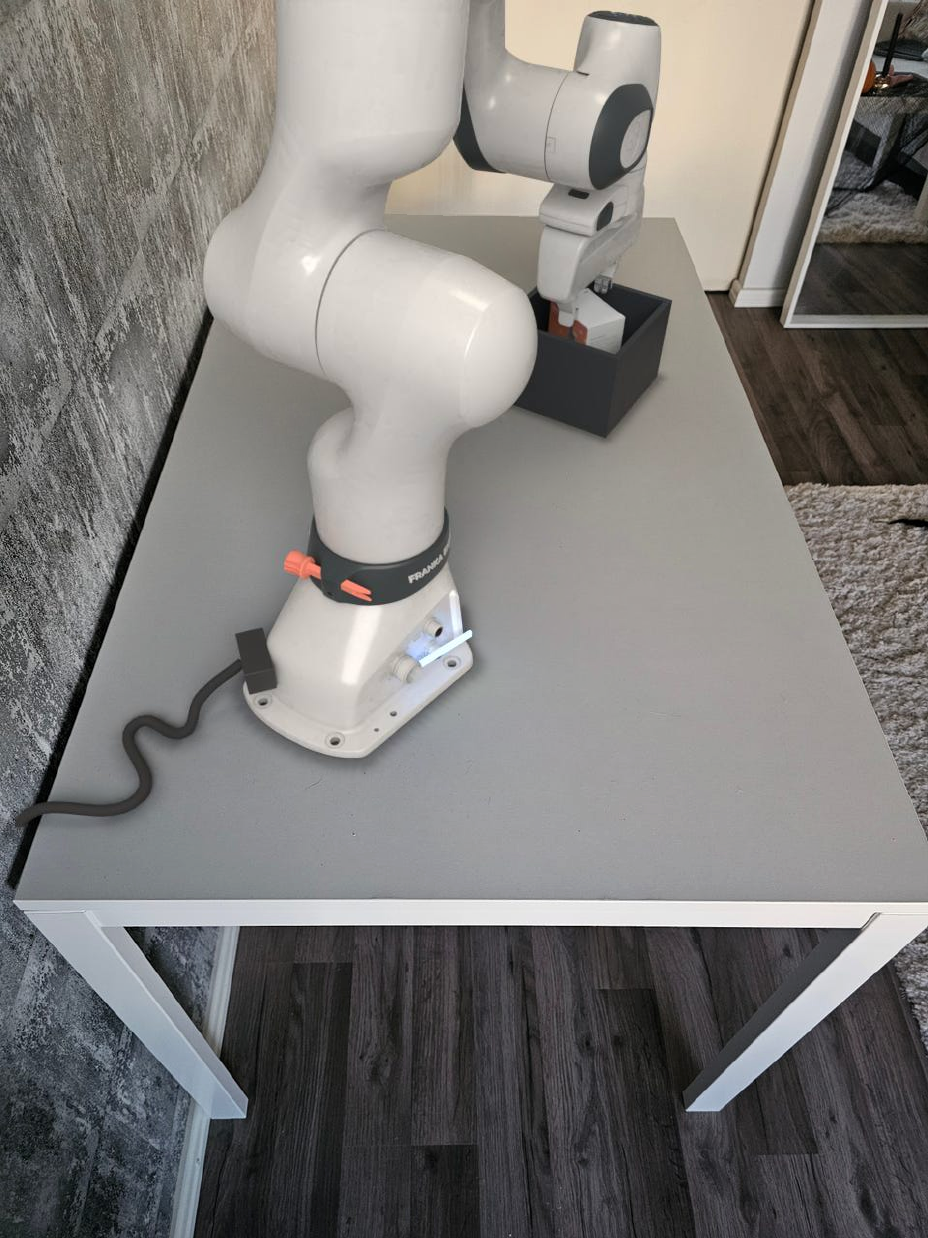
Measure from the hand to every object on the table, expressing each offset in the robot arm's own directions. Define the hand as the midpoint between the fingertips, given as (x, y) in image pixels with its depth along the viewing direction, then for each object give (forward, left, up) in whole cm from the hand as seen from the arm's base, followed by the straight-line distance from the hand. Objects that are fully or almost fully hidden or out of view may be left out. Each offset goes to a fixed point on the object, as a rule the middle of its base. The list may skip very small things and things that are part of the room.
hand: (585, 306), depth 108 cm
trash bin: (0, 0, -11) cm, 11 cm away
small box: (0, 0, -11) cm, 11 cm away
